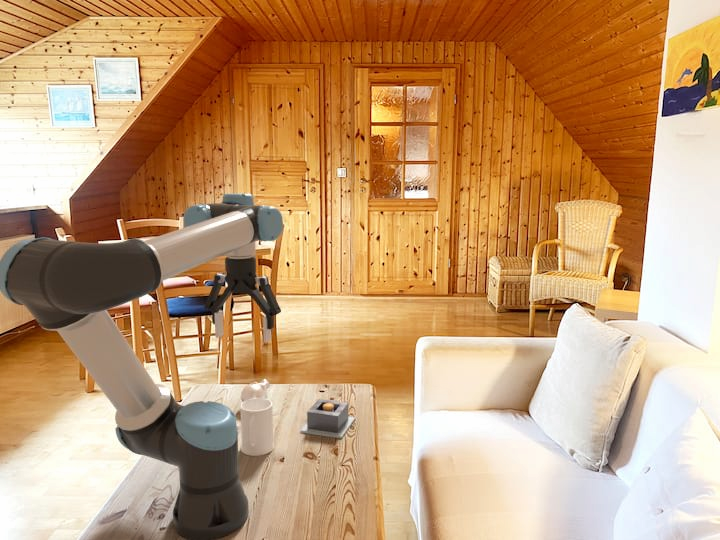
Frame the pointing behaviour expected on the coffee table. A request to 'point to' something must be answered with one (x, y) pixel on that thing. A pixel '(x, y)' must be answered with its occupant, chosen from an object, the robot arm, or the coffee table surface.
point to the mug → (257, 427)
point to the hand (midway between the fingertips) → (243, 338)
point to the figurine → (255, 390)
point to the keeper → (330, 408)
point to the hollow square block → (327, 416)
